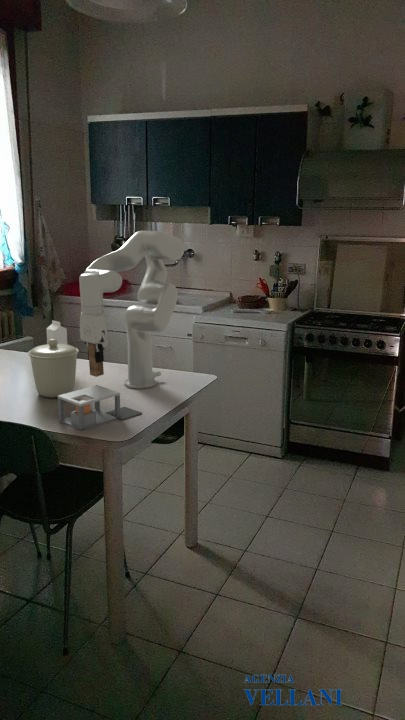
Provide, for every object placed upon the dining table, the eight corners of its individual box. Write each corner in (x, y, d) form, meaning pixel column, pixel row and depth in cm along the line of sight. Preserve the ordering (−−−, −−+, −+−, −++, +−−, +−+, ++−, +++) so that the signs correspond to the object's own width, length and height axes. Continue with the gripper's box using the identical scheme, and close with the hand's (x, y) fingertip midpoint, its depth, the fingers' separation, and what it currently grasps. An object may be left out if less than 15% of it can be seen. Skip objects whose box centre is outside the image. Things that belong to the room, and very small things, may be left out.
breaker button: (84, 411, 191) (83, 399, 190) (90, 413, 189) (90, 401, 188) (76, 413, 188) (75, 401, 187) (82, 416, 186) (81, 403, 185)
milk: (56, 375, 244) (53, 323, 238) (48, 372, 248) (45, 321, 242) (69, 372, 248) (66, 321, 242) (60, 369, 252) (57, 319, 246)
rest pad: (124, 407, 205) (124, 406, 205) (142, 413, 199) (142, 412, 199) (104, 414, 199) (104, 412, 199) (121, 420, 193) (121, 419, 193)
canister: (62, 404, 208) (60, 346, 203) (20, 398, 214) (16, 341, 209) (89, 389, 225) (87, 336, 219) (49, 384, 231) (46, 332, 225)
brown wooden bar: (97, 372, 209) (95, 334, 205) (103, 374, 207) (101, 336, 203) (90, 374, 207) (87, 336, 203) (96, 376, 205) (93, 338, 201)
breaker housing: (97, 409, 203) (96, 385, 201) (120, 417, 196) (119, 392, 193) (59, 421, 192) (57, 395, 189) (81, 430, 184) (80, 403, 182)
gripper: (69, 308, 203) (73, 358, 208) (99, 314, 192) (102, 367, 198) (86, 304, 208) (90, 354, 213) (116, 311, 197) (119, 362, 203)
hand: (96, 360), depth 205 cm, fingers closed on brown wooden bar, 3 cm apart
